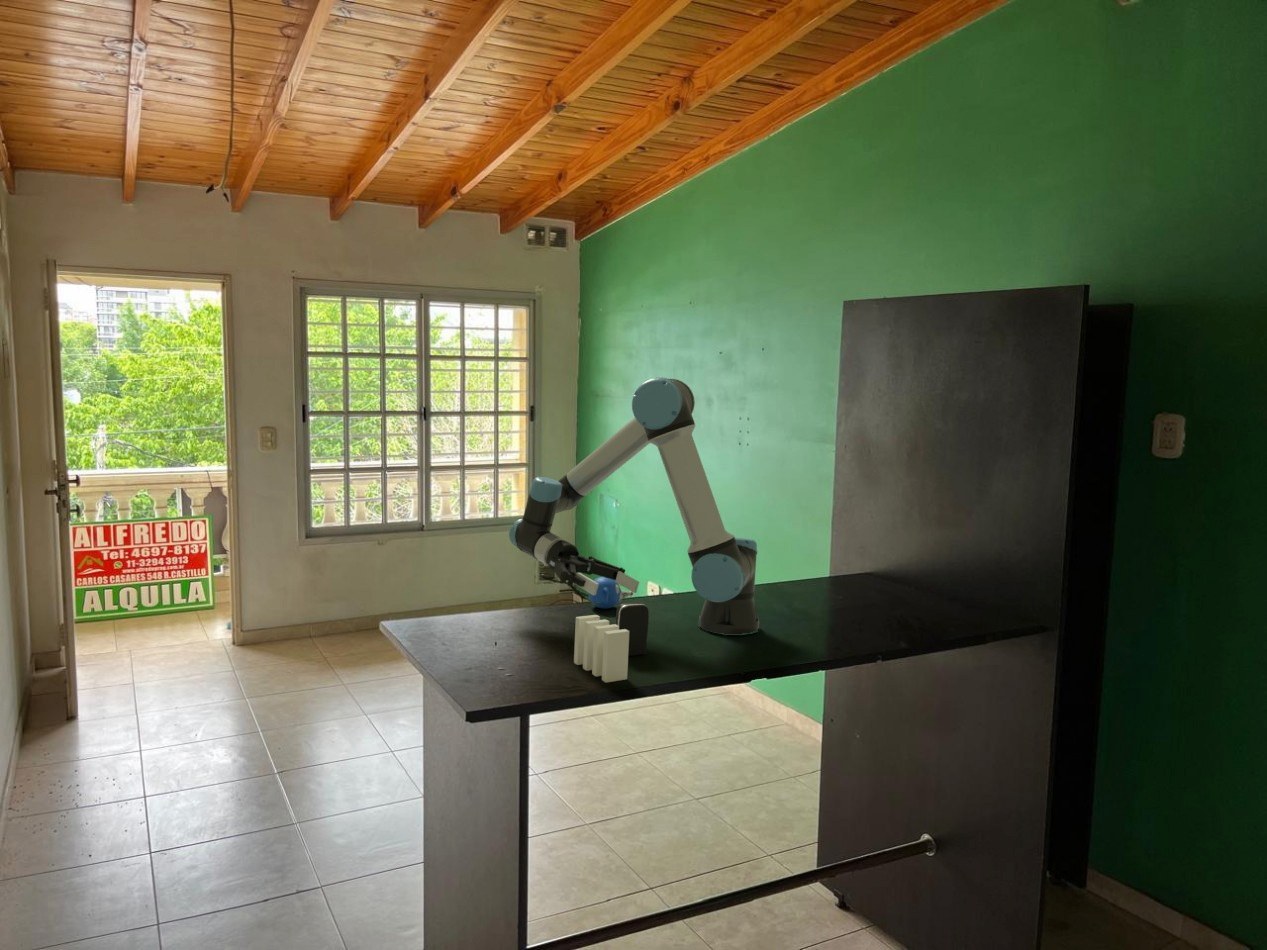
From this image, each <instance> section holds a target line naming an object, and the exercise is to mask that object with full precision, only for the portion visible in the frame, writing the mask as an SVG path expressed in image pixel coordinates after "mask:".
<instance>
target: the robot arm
mask: <svg viewBox="0 0 1267 950" xmlns="http://www.w3.org/2000/svg"><path fill="white" fill-rule="evenodd" d="M695 401H696V400H695V396H694V393H693V390H692V389H691V388H690V387H689V386H688V384H686V383H685V382H683V381H682V380H680V379H676V378H666V377H654V378H651V379H648V380H646V381H644V382H642V383H641V384H640V385H639V386H638V387H637V388H636V390H635V391H634V394H633V396H632V400H631V410H632V413H633V416H634V417H633V418H632V419H631V420H629V421H628V422H627V423H625V424H624V425H623V426H622V427H620V428H619V430H617V432H615V433H613V434H612V435H611V436H610V437H609V438H607V439H606V440H605V441H604V442H603V443H602V444H600V445H599V446H598V447H597V448H596V449H595V450H594V451H592V452H591V453H589V454H588V456H586V457H585V458H584V459H583V460H581V461H580V462H579V463H578V464H577V465H575V466H574V467H573V468H571V470H570V471H568V472H567V473H566V474H565V475H563V476H562V477H561V478H560V479H559V480H556V479H553V478H549V477H545V476H543V477H542V476H537V477H535V478H533V480H532V483H531V486H530V489H529V491H528V492H529V493H528V498H527V501H526V505H525V510H524V513H523V517H522V518H520V519H517V520H516V521H514V522H513V525H512V526H511V527H510V528H509V532H508V536H509V537H508V538H509V541H510V543H511V544H512V545H513V546H515V547H516V548H517V549H518V550H519V551H521V552H523V553H525V554H526V555H528V556H530V557H532V558H534V559H535V560H536V561H539V562H540V563H542V564H543V566H544V567H548V568H550V569H551V570H553V572H554V573H555V575H556V576H557V578H558V580H559V581H560V582H562V583H566V582H567V584H566V585H567V586H568V587H573V584H574V585H575V586H577V587H579V588H580V589H582V590H584V591H586V592H587V593H588V594H589V593H590V594H592V595H596V592H597V589H598V585H599V584H598V583H596V582H595V581H594V579H591V578H590V577H588V576H586V575H589V576H591V575H595V576H599V577H606V578H609V579H612V580H615V582H616V583H618V584H619V585H620V587H623V588H625V589H627V591H629V592H633V594H636V593H637V591H638V588H639V585H640V581H638V580H636V579H634V578H633V577H631V576H630V575H627V574H626V573H625V572H626V569H625V568H623V567H619V566H616V565H613V564H610V563H607V562H606V561H602V560H599V559H597V558H595V557H593V556H588V557H587V558H586V557H585V556H583V555H580V553H579V550H578V548H577V547H576V546H575V545H574V544H572V543H571V542H569V541H567V540H565V539H564V538H563V537H560V536H558V535H557V534H555V533H553V532H552V531H551V530H552V526H553V523H554V519H555V516H556V514H559V513H561V512H562V513H563V512H565V511H570V510H572V509H574V508H575V507H577V506H578V505H579V504H580V502H581V501H582V499H584V497H586V496H587V494H589V493H591V492H592V490H594V489H595V488H596V487H598V486H599V485H600V484H602V483H603V482H604V481H605V480H606V479H608V478H609V477H610V476H611V475H613V474H614V473H615V472H616V471H618V470H619V469H620V468H621V467H622V466H623V465H625V464H626V463H627V462H629V461H630V460H631V459H632V458H633V457H635V456H636V455H637V454H638V453H639V452H641V451H642V450H643V449H645V448H646V447H647V446H648V445H649V444H652V445H654V446H656V447H657V450H658V452H659V455H660V458H661V461H662V464H663V466H664V469H665V473H666V475H667V478H668V481H669V484H670V487H671V490H672V493H673V495H674V498H675V501H676V504H677V507H678V510H679V512H680V515H681V519H682V521H683V524H684V527H685V530H686V533H687V536H688V538H689V542H690V544H689V547H688V548H687V556H688V557H689V558H688V559H689V561H690V564H691V567H692V569H691V582H692V586H693V587H694V588H693V589H694V590H695V591H696V593H697V594H698V595H699V596H700V597H702V598H703V599H705V600H704V603H703V606H702V609H701V613H700V614H699V617H698V627H699V626H700V627H701V628H702V629H704V630H708V631H712V632H717V633H724V634H742V633H750V632H753V631H756V630H757V629H758V628H759V629H760V619H759V615H758V611H757V606H756V603H755V599H754V598H755V583H756V572H757V571H756V570H757V568H756V567H757V555H758V550H757V549H758V545H757V542H756V541H755V539H750V538H744V537H735V535H734V534H732V533H730V532H728V531H727V530H726V528H725V525H724V523H723V520H722V517H721V513H720V511H719V508H718V505H717V502H716V500H715V497H714V493H713V491H712V488H711V485H710V484H709V480H708V477H707V474H706V472H705V468H704V466H703V463H702V461H701V456H700V455H699V452H698V448H697V446H696V443H695V440H694V437H693V432H694V430H695V428H696V423H695V420H694V418H693V412H694V411H695ZM588 569H589V570H588ZM584 574H585V575H584ZM700 627H699V628H700ZM701 628H700V629H701ZM702 629H701V630H702ZM704 630H703V631H704Z"/></svg>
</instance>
